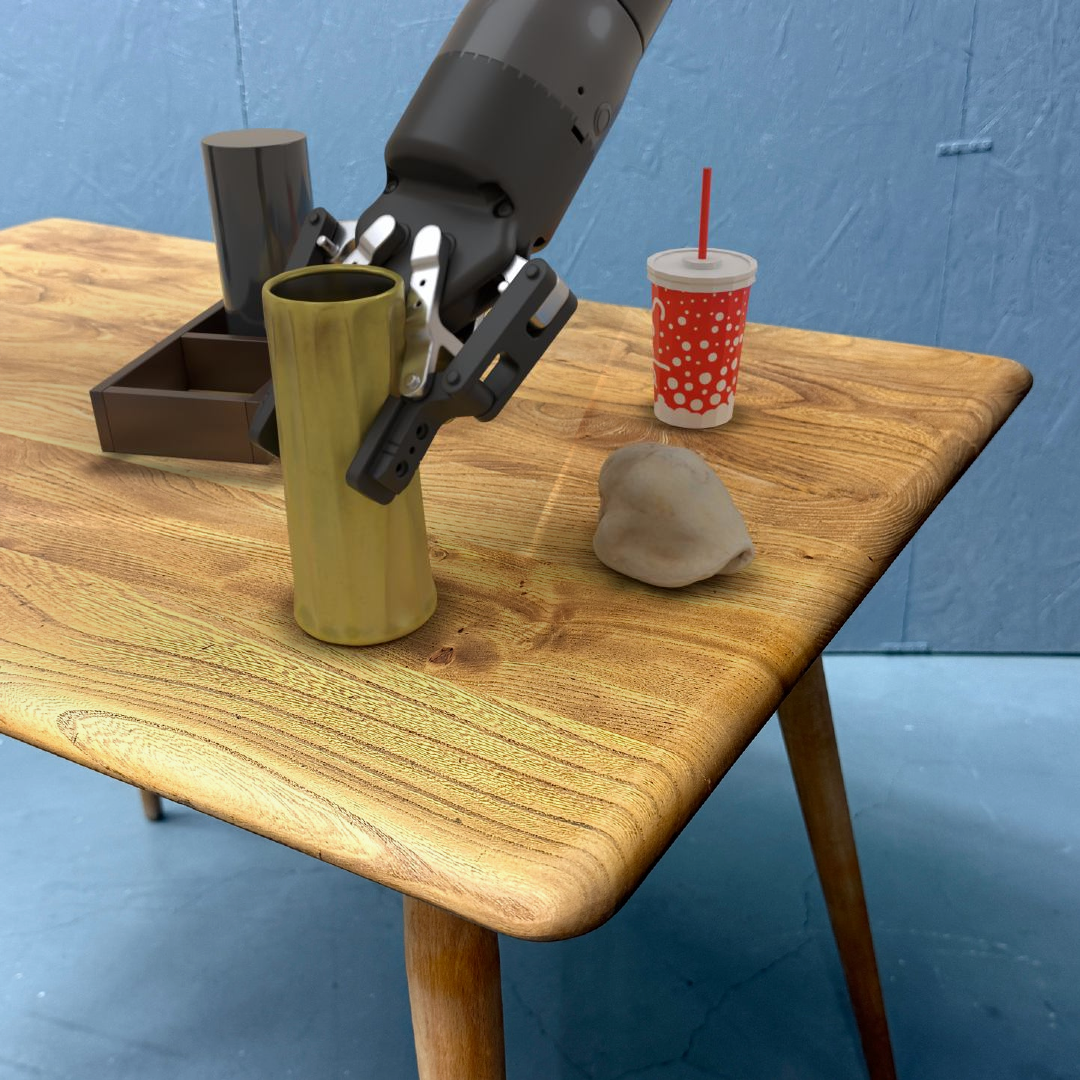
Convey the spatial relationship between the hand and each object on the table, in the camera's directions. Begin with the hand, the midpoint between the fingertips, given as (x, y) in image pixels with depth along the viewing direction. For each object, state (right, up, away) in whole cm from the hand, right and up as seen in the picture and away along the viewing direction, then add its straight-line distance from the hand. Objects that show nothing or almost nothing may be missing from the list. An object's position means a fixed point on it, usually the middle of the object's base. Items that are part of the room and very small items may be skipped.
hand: (315, 471), depth 45 cm
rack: (-8, +5, +25) cm, 27 cm away
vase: (+1, -6, +5) cm, 8 cm away
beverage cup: (+18, +5, +23) cm, 30 cm away
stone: (+14, -3, +9) cm, 17 cm away
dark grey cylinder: (-8, +8, +28) cm, 30 cm away
